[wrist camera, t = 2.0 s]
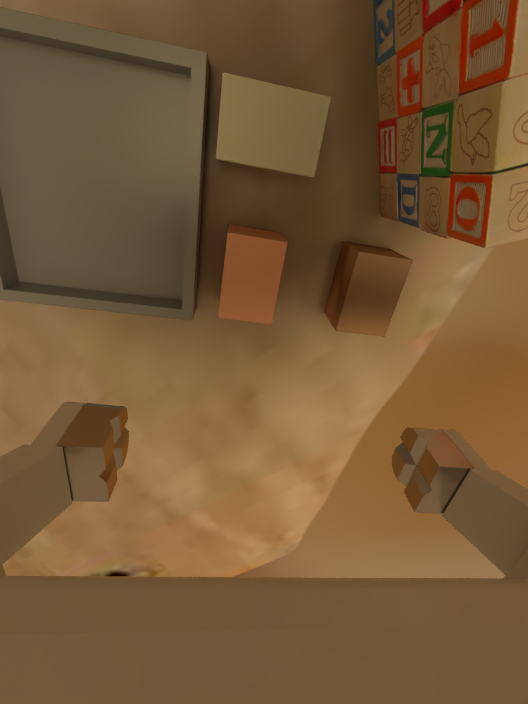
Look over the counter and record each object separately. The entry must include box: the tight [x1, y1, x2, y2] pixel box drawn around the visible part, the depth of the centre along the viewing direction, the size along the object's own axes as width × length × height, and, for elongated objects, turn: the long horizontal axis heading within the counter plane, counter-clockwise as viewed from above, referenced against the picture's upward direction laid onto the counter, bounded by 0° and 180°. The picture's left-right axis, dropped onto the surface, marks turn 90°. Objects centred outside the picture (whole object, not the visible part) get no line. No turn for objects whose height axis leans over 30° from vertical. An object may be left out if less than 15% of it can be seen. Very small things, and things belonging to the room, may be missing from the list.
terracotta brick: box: [218, 224, 288, 324], centre depth 25 cm, size 6×4×4 cm, turn 170°
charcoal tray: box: [0, 7, 210, 320], centre depth 22 cm, size 16×14×2 cm
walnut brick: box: [324, 241, 413, 337], centre depth 26 cm, size 6×4×4 cm, turn 171°
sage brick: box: [216, 72, 331, 177], centre depth 21 cm, size 4×6×4 cm, turn 81°
